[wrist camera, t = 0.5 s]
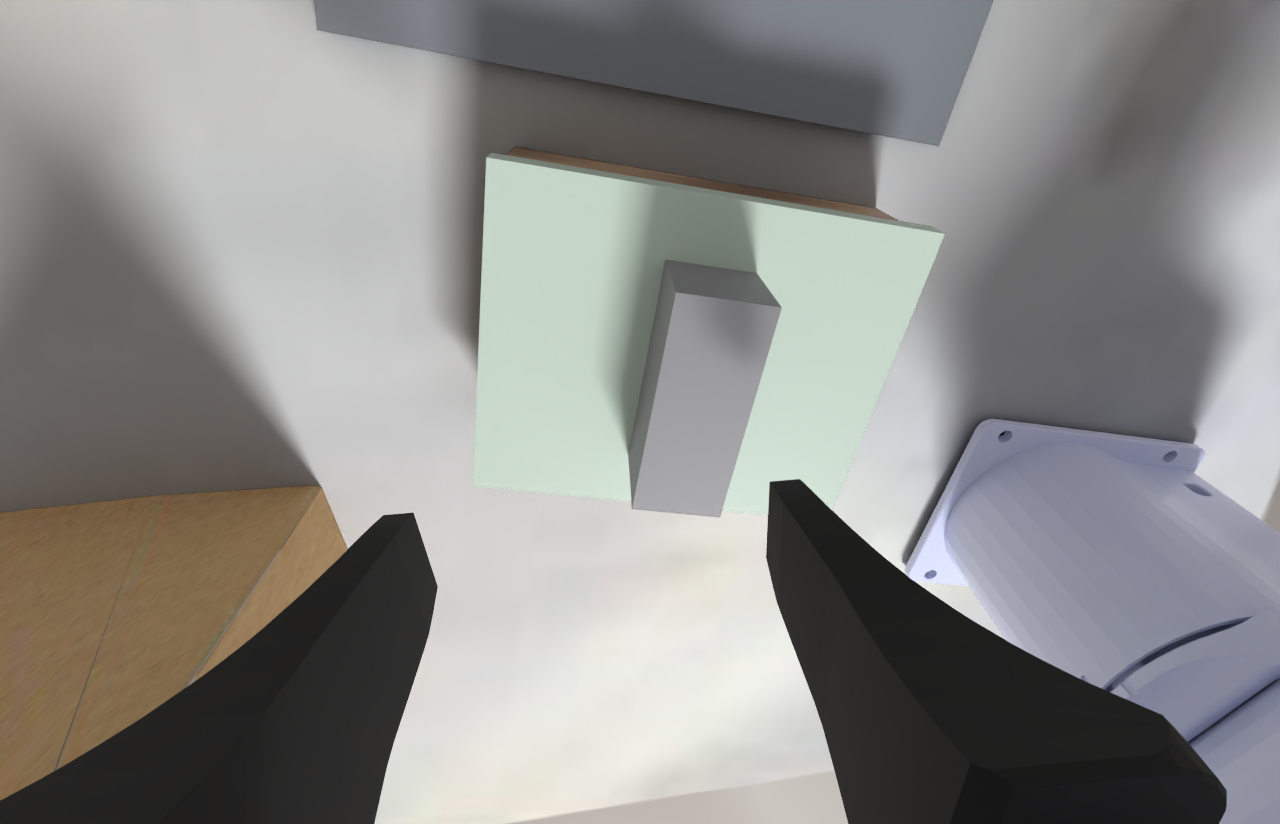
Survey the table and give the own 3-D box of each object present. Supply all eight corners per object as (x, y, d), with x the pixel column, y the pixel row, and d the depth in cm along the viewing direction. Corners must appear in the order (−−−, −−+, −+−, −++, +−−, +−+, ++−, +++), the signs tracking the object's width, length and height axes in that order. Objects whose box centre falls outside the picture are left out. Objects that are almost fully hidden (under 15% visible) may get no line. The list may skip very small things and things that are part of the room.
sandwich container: (-96, 514, 23) (-1023, 1124, 10) (320, 476, 23) (-43, 1024, 10) (35, 666, 27) (-485, 1229, 14) (385, 633, 27) (191, 1157, 14)
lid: (921, 221, 17) (1000, 262, 13) (816, 496, 21) (855, 577, 18) (494, 149, 15) (465, 175, 12) (479, 461, 20) (455, 542, 16)
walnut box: (876, 208, 19) (920, 232, 16) (792, 450, 23) (816, 500, 21) (514, 147, 17) (499, 162, 15) (497, 417, 22) (484, 466, 19)
